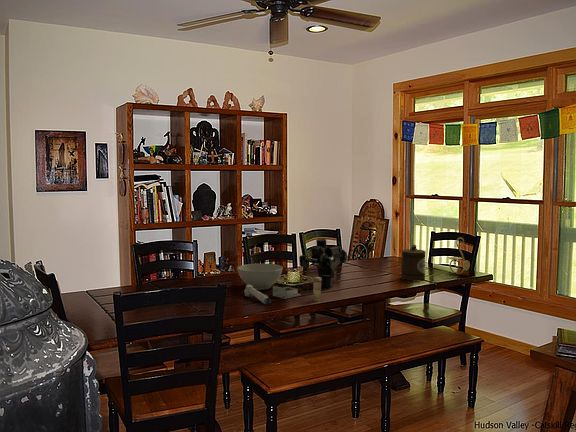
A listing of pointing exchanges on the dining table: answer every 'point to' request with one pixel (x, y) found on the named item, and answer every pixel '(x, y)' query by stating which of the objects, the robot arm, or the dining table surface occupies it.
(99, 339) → the dining table surface
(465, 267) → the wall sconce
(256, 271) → the decorative bowl
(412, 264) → the wooden container
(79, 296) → the dining table surface
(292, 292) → the grey rectangular box
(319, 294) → the cream cylinder
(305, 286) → the dining table surface
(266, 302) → the grey pestle
